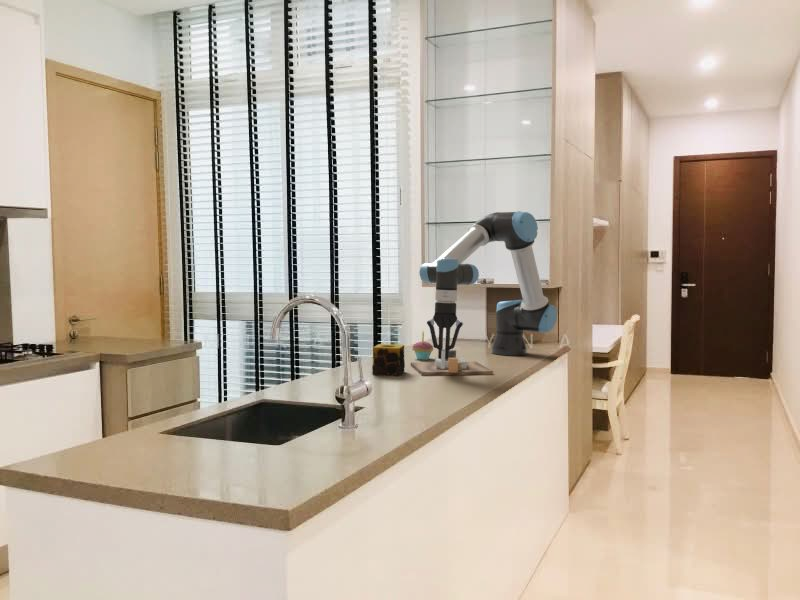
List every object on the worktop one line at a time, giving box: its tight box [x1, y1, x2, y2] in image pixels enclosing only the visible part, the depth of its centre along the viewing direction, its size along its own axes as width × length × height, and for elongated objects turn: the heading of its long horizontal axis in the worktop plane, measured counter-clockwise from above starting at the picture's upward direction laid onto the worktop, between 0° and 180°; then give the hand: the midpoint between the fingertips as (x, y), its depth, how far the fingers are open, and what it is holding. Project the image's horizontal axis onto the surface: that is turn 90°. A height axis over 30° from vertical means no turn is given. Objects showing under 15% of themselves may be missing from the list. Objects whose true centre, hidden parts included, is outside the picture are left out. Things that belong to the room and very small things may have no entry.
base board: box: [410, 349, 494, 376], centre depth 269 cm, size 26×22×7 cm
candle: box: [371, 343, 406, 377], centre depth 260 cm, size 10×10×10 cm
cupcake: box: [411, 331, 434, 361], centre depth 295 cm, size 9×8×12 cm
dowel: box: [458, 362, 462, 371], centre depth 261 cm, size 2×2×3 cm
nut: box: [434, 356, 468, 373], centre depth 265 cm, size 20×11×5 cm, turn 0°
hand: (443, 368), depth 257 cm, fingers closed
